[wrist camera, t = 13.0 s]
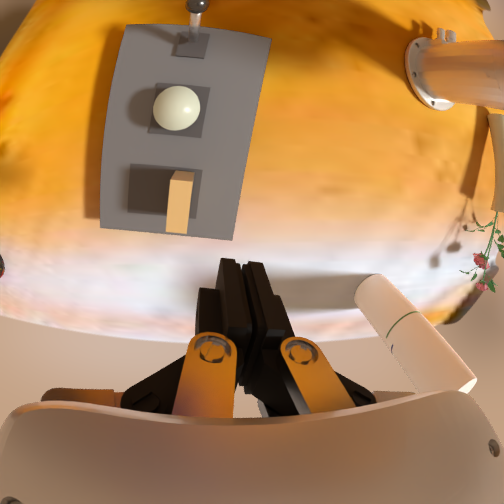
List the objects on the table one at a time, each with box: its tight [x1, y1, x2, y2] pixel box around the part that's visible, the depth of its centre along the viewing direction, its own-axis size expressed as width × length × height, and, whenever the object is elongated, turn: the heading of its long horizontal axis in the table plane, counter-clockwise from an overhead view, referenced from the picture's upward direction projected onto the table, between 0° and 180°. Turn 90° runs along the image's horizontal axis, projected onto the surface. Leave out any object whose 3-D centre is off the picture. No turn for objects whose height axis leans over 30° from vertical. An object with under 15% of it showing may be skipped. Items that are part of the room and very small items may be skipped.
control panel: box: [100, 24, 272, 241], centre depth 27 cm, size 24×16×4 cm, turn 169°
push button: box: [153, 86, 200, 130], centre depth 23 cm, size 4×4×2 cm
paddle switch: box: [166, 170, 194, 234], centre depth 26 cm, size 5×2×5 cm, turn 169°
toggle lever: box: [185, 0, 209, 43], centre depth 17 cm, size 2×2×6 cm
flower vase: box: [461, 114, 504, 292], centre depth 37 cm, size 12×12×35 cm
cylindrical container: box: [354, 274, 477, 394], centre depth 33 cm, size 7×7×25 cm
